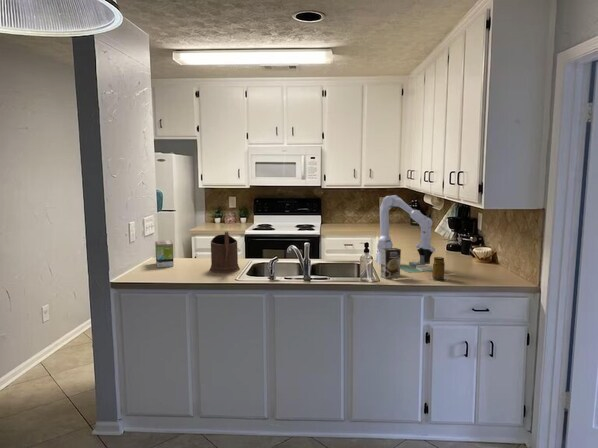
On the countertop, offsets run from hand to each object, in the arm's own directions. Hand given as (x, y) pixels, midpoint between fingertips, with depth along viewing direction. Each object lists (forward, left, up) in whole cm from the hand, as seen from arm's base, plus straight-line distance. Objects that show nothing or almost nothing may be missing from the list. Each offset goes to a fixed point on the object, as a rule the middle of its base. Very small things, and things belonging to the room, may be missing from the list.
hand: (424, 261), depth 257 cm
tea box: (-67, -146, -6) cm, 161 cm away
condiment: (+19, -3, -6) cm, 20 cm away
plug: (0, 0, -1) cm, 1 cm away
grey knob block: (-10, +1, -6) cm, 11 cm away
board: (-4, -4, -6) cm, 8 cm away
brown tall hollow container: (-40, -112, -6) cm, 118 cm away
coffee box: (+6, -26, -6) cm, 27 cm away
